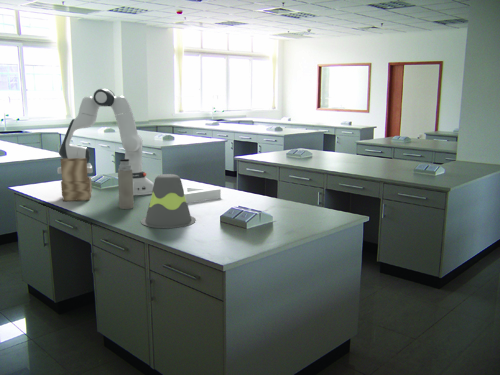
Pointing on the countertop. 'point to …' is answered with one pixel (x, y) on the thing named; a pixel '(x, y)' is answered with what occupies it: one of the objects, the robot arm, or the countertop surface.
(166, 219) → the grey tapered cylinder
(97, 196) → the countertop surface
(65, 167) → the carton flap
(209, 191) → the triangular ruler
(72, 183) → the carton
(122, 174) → the thermos bottle
